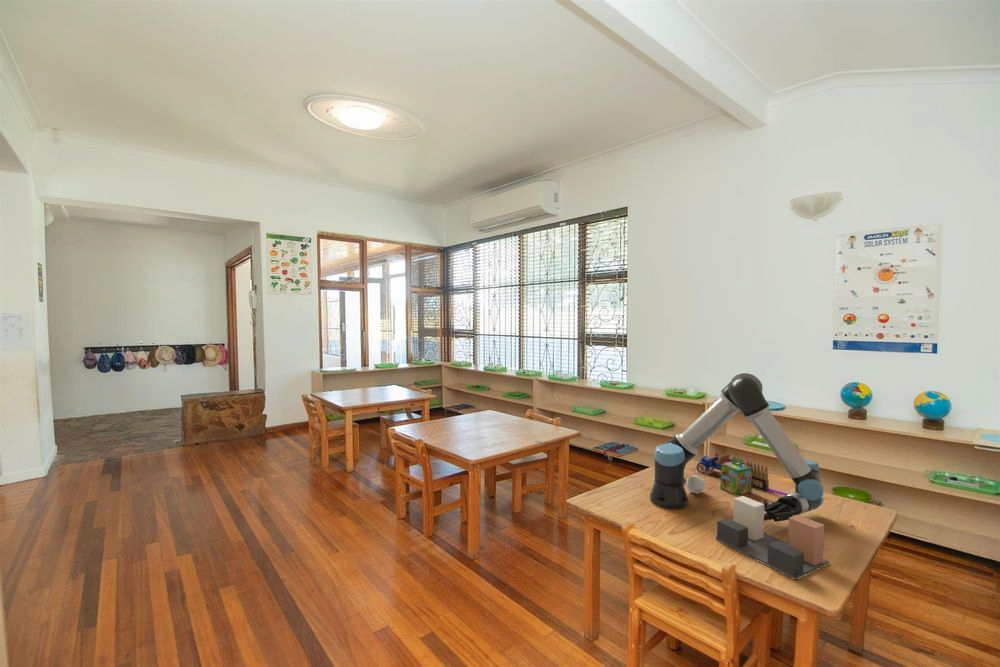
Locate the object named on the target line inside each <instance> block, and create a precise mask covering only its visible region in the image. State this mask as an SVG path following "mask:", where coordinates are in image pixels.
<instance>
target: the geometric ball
mask: <svg viewBox="0 0 1000 667" xmlns="http://www.w3.org/2000/svg"><path fill="white" fill-rule="evenodd" d="M685 486H686V488H687V490H688V491H689V492H691V493H693V494H695V493H696V495H698V494H699V495H700V494H701V493H703V492H704V490H705V489H706V482H705V480H704V479H703V478H702V477H700V476H699V475H695V474H693V475H690V476H689V477H688V478H687V479H686V483H685Z"/></svg>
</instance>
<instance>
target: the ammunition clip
mask: <svg viewBox="0 0 1000 667" xmlns="http://www.w3.org/2000/svg"><path fill="white" fill-rule="evenodd" d="M745 463H746V466H749V464H750V466H749V467H751V468H752V480H751V486H752V487H751V488H754V487H755V489H757V488H758V489H757V490H759V489H760V491H762V490H763V491H762V492H766V493H768V492H770V491H769V489H770V488H769V487H770V486H769V473H768V466H767V464H765V465H764V464H763V463H761V464H760V462H756V461H754V462H753V460H749V459H748V458H747V459H746V462H745Z"/></svg>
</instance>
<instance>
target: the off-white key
mask: <svg viewBox="0 0 1000 667" xmlns="http://www.w3.org/2000/svg"><path fill="white" fill-rule="evenodd" d="M762 503H763V502H759V501H757V500H754V499H752V498H750V497H747V496H744V495H740V496H737V497H735V498H733V519H732V520H733V521H735V522H737V523H739V524H741V525H744V526H746V527H748V538H749V539H751V540H753V541H756V540H758V539H761V538H763V533H764V532H765V530H764V529H765V528H764V527H765V525H764V524H765V521H764V504H762Z"/></svg>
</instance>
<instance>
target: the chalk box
mask: <svg viewBox="0 0 1000 667" xmlns="http://www.w3.org/2000/svg"><path fill="white" fill-rule="evenodd" d="M732 460H733V461H732V462H730V463H724V464H721V470H720V472H721V474H720V484H719V485H720V489H722V490H724V491H726V492H728V493H730V494H733V495H735V494H736V495H735V496H737V495H738V496H743V495H745V493H746V494H749V493H751V492H752V487H751V480H752V468H751V467H749V466H746V465H744V464H742V463H744V460H743V459H742V458H739V457H736V456H733V457H732ZM735 461H739V462H740V463H738V462H735Z"/></svg>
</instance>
